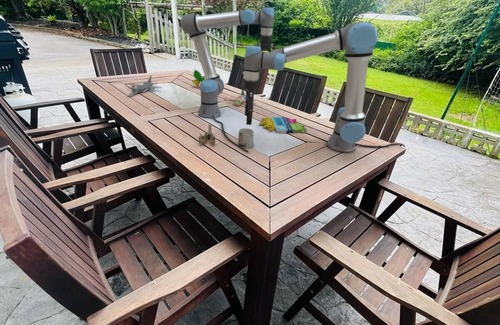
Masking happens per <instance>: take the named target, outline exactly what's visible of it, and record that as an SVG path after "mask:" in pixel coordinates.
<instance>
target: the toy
mask: <svg viewBox="0 0 500 325" xmlns="http://www.w3.org/2000/svg"><path fill="white" fill-rule="evenodd" d="M240 92H241V93H240V95H238V96H237V97H235V99H233V98H230V99H228V98H227V97H226V96H225V97H224V98H223V101H224V102H233V103H232V104H233V105H235V106H242V103H243V104H246V103H245V102H246V101H245V100H246V92H245V91H244V89H242V90H241V91H240ZM256 104H257V103H256V102H254V100H253V106H255V105H256Z"/></svg>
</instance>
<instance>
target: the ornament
mask: <svg viewBox="0 0 500 325" xmlns="http://www.w3.org/2000/svg"><path fill="white" fill-rule="evenodd" d="M192 75H193V77H194V79H193V80H191V83H192V84H194V86H195V87H197V88H198V87H199V89H200V86H201V82H202V81H204V78H205V75H202V73H201V71H199V70H197V69H194V70H193V74H192Z"/></svg>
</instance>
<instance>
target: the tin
mask: <svg viewBox="0 0 500 325" xmlns="http://www.w3.org/2000/svg"><path fill="white" fill-rule="evenodd" d="M254 132H255V131H254V130H253V129H252V128H245V127H244V128H240V129H239V130H238V141H237V145H239V146H241V147H242V148H244V149H250V148H251V149H252V147H253V145H254V136H255V133H254Z"/></svg>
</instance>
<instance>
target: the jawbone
mask: <svg viewBox="0 0 500 325" xmlns="http://www.w3.org/2000/svg"><path fill="white" fill-rule="evenodd" d="M212 126H213V124H212V123H209V124H208V126H207V127H208V129H207V131H205V132H204V134H203V135H202V133H201V132H198V133H199V136H198V142H199V143H198V145H200V146H202V145H204V143H206V142H207V141H210V143H211V145H212V146H216V141H217V140H216V134H213V130H212Z"/></svg>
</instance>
